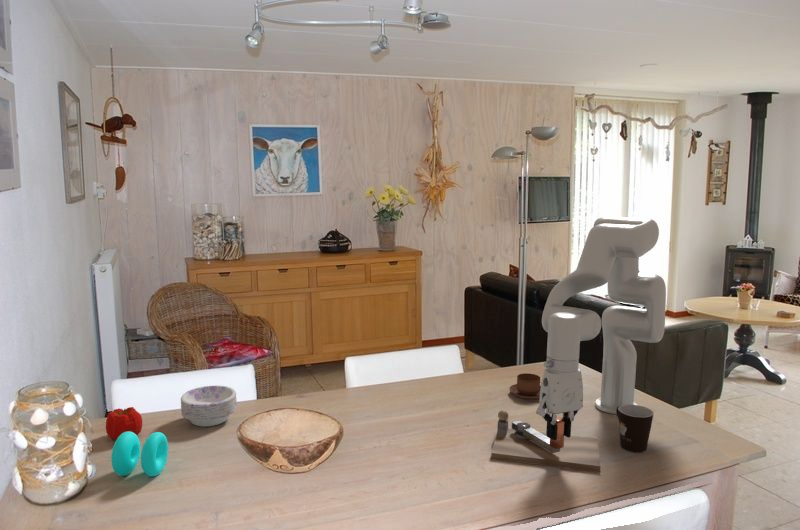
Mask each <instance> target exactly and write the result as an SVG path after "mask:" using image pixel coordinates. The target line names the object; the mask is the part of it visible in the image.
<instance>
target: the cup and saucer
mask: <svg viewBox="0 0 800 530" xmlns="http://www.w3.org/2000/svg"><path fill="white" fill-rule="evenodd" d="M540 389H541V376H540V375H537V374H534V373H528V372H527V373H525V372H524V373H520V374H518V375H517V377H516V384H512V385H511V386H509V392H510V393H511V394H512V395H513V396H514V397H517V398H520V399H525V400H538V399H540Z"/></svg>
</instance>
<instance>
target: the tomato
mask: <svg viewBox="0 0 800 530" xmlns="http://www.w3.org/2000/svg"><path fill="white" fill-rule="evenodd" d="M142 429H143V417H142V414H140V412H139V411H137V410H136V408H135V407H134V406H131V407H130V406H129V407H127V408H124V409H123V408H116V409H113V411H110V412H109V413H108V414H107V417H106V420H105V431H106V434H107V436H108V438H109V439H110V440H114V441H116V440H117V438H118V437H119V436H120V435H121V434H122V433H124V432H128V431H130V432H133V433H135V434H136V435H137V436H139V434H140V433H141V432H142Z"/></svg>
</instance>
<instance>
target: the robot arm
mask: <svg viewBox="0 0 800 530" xmlns="http://www.w3.org/2000/svg"><path fill="white" fill-rule="evenodd" d="M659 235H660V230H659V225H658V223H657V222H656V221H655V220H654V219H653V218H646V217H645V218H644V217H627V216H625V217H624V216H603V217H598V218H597V219H596V220H595V221H594V223H593V227H591V228H590V230H589V232H588V234H587V237H586V240H585V242H584V246H583V248H582V250H581V251H582V252H581V254H580V258H579V261H578V264H577V267H576V269H575V270H573V271H572V272H571V273H569V274H568V275H565V277H564V278H562V279H561V280H560V281H559V282H558V283H556V284H555V286H553V288H552V289H551V290H550V292H549V294H548V297H547V299H546V303H545V305H544V309H543V311H542V316H541V325H542V328H543V330H544V331H545V332H546V333H547V343H546V344H547V345H546V346H547V347H546V361H544V362H543V367H544V368H545V369H544V371H543V374H542V377H541V381H540V386H541V389H540V398H539V404H538V406H537V408H536V411H535V413H536V414H537V415H539V416H541V417H542V418H543V419H544V421H545V422H546V432H545V433H546V435H547V437H549V438H551V439H552V440H556V439H557V427H558V426H557V424H555V423H556V418H557V417H558V415H559V414H562V417H561V418H562V419H564V420H565V431H564V436H566V437H571V436H572V435H571V434H572V422H574V420H575V416H576V415H577V414H578V412H579V411H580V410H582V409H583V407H584V404H583V403H584V382H583V375H582V370H581V369H580V368H579V365H580V364H579V363H580V348H581V347H580V346H581V345H580V344H581V342H583V341H591V340H593V339H595V338H596V337H597V336H598V335H599V334H600V332H601V329H602V337H603V347H602V348H603V351H602V352H603V353H602V354H603V355H602V356H603V357H602V369H601V385H600V386H601V387H600V397H599V398H596V400H594V401H595V403H594V405H595V407H596V408H597V409H598V410H600V411H602V412H605V413H608V414H610V415H616V416H617V413H616V410H617V407H618V406H622V405H638V403H636V402H635V385H636V372H637V371H636V370H637V358H638V357H637V355H638V354H637V350H636V347H635V345H634V343H633V342H632V341H636V342H637V341H638V342H642V343H643V342H644V343H650V344H654V343H659V342H660V341H661V340H662V339H663V337H664V334H665V330H666V329H665V328H666V307H667V306H666V305H667V303H666V300H667V298H666V297H667V286H666V283H665V280H664V278H663V277H662V276H660V275H659V274H655V273H648V272H640V270H639V264H640V263H639V261H640V259H639V258H640V257H642V256H644V255H646V254H647V253H648V252H650V251H651V250H652V249H653V248H654V247H655V246H656V244H657V243H658V240H659V238H660V237H659ZM606 284H607V295H608V298H609V299H610V300H611V301H613V302H615V303H622V304H625V305H611V306H608V307H607V308H605V309H604V310H603V312H602V316H601V317H600V315H599V314H598V313H597V312H596V311H594V310H591V309H586V308H578V307H572V306H565V305H564V303H565V302H566V301H568V300H569V298H571V297H572V296H575V295H577V294H579V293H583V292H587V291H589V290H593V289H596V288H600V287H603V286H604V285H606ZM626 305H634V306H635V307H634V306H626ZM636 306H640V307H644V308H639V307H636Z"/></svg>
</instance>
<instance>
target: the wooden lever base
mask: <svg viewBox="0 0 800 530" xmlns="http://www.w3.org/2000/svg"><path fill="white" fill-rule="evenodd" d="M497 417H498V421H497V427H496V428H497V431H496V434H495V438H494V442H493V446H492V450H491V457H490V458H491V459H492V460H502V461H509V462H517V463H524V464H525V463H526V464H531V465H532V464H534V465H538V466H539V465H541V466H549V467H555V468H556V467H557V468H558V467H559V468H563V469H564V468H565V469H571V470H572V469H573V470H580V471H581V470H582V471H587V472H589V471H590V472H597V473H601V465H602V464H601V459H600V458H601V457H600V449H599V442H598V441H599V440H598V438H596V437H587V436H577V435H571V437H566V436H564V447H563V448H560V452H556V453H551V452H550V451H548V450H546V449H545V448H543V447H541V446H540V445H538V444H536V443H535V442H533V441H532V440H530V439H528V438H527V437H525V436H523V435H520V434H518V433H517V432H516V431H515V430H514V429H512V428H509V413H508V411H507V410H505V409H502V410H500V411H498V413H497ZM539 432H540V433H541V434H543V435H545V436H547V435H546V432H542V431H539ZM548 438H549V437H548Z"/></svg>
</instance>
